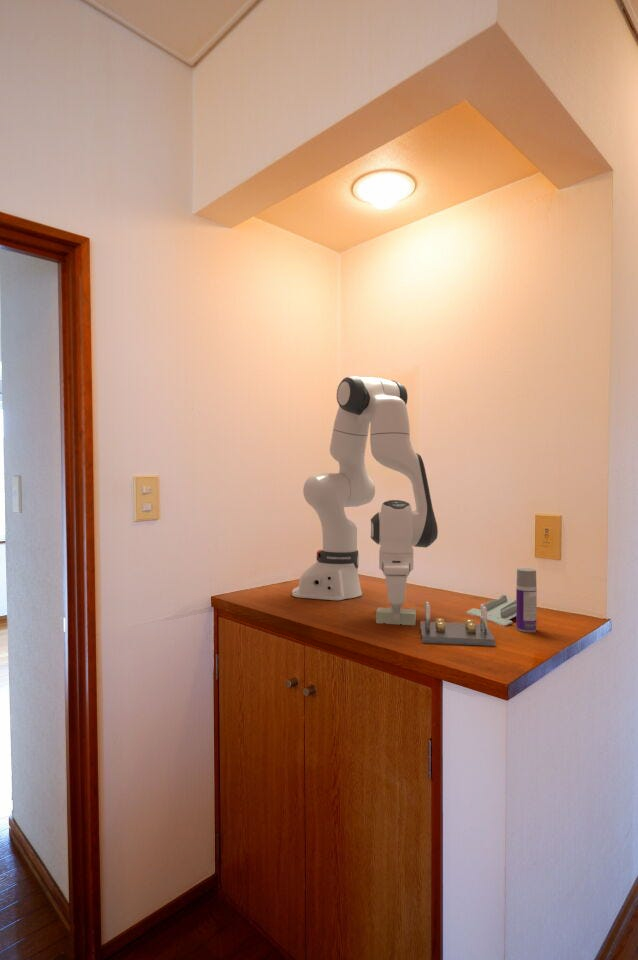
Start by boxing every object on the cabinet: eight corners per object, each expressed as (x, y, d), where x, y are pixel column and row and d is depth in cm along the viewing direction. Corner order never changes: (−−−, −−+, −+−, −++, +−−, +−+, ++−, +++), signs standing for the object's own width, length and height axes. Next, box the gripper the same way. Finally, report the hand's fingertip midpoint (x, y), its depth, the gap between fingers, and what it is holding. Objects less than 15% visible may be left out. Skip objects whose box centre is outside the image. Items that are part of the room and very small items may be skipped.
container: (513, 627, 136) (513, 567, 136) (532, 627, 136) (532, 567, 136) (519, 632, 131) (520, 571, 131) (539, 632, 131) (539, 571, 131)
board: (376, 624, 140) (376, 612, 140) (378, 619, 145) (378, 607, 145) (415, 626, 138) (415, 614, 138) (415, 621, 143) (415, 609, 143)
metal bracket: (500, 589, 155) (540, 600, 142) (504, 608, 156) (545, 621, 142) (461, 607, 150) (499, 621, 136) (466, 627, 151) (504, 642, 137)
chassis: (422, 642, 123) (422, 610, 123) (420, 627, 136) (420, 597, 136) (495, 646, 121) (495, 612, 121) (485, 629, 134) (485, 599, 134)
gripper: (385, 556, 152) (384, 605, 152) (383, 568, 132) (383, 625, 132) (407, 556, 151) (407, 606, 151) (409, 569, 131) (409, 626, 131)
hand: (396, 615), depth 141 cm, fingers open, 8 cm apart
